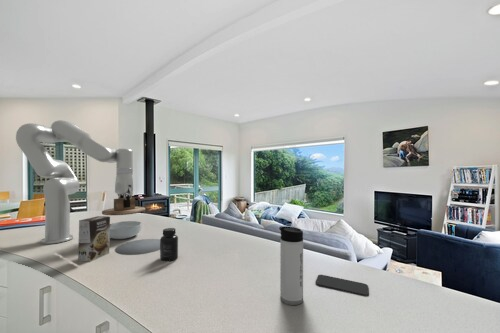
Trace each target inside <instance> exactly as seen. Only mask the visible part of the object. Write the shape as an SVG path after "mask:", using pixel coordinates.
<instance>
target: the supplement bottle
mask: <svg viewBox="0 0 500 333" xmlns="http://www.w3.org/2000/svg"><path fill="white" fill-rule="evenodd" d="M178 257H179V236H178V235H177V234H176V228H175V227H167V228H164V229H162V236H161V237H160V250H159V260H160V261H162V262H168V263H172V262H174V261H176V260H178Z"/></svg>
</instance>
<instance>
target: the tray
mask: <svg viewBox="0 0 500 333" xmlns="http://www.w3.org/2000/svg"><path fill="white" fill-rule="evenodd" d="M160 239H161V238H160ZM160 239H159V238H144V239H142V238H141V239H136V240H131V241H128V242H124V243H121V244H120V245H117V247H115V249H114V252H115V253H117V254H118V255H124V256H138V255H146V254H151V253H155V252H159V251H160Z"/></svg>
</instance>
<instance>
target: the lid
mask: <svg viewBox="0 0 500 333" xmlns="http://www.w3.org/2000/svg"><path fill="white" fill-rule="evenodd" d="M124 200H125V199H124V198H119V199H118V198H113V208H108V209H104V210H102V211H101V215H103V216H126V215H128V216H129V215H133V214H134V215H135V214H139V213H140V214H141V213H143V212H146V207H143V206H136V197H134V196H133V197H132V196H131V199H130V207H126V208H124Z"/></svg>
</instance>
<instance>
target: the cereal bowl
mask: <svg viewBox="0 0 500 333" xmlns="http://www.w3.org/2000/svg"><path fill="white" fill-rule="evenodd" d="M141 229H142V222H141V221H137V220H124V221H117V222H113V223H110V239H115V240H125V239H130V238H132V237H135V236H137V235H138V234H139V233H140V232H141V231H142V230H141Z"/></svg>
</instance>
